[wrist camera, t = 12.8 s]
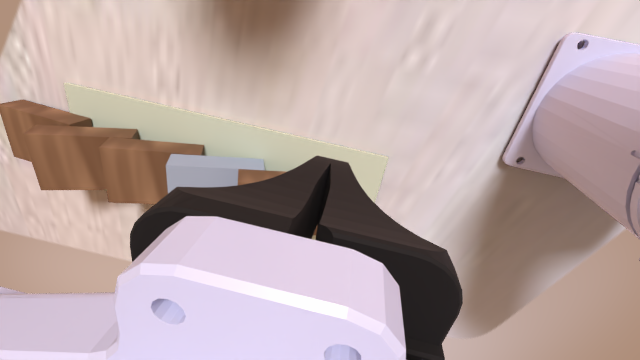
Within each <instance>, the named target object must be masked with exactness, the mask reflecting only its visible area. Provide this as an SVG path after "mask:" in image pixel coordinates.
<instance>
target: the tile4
mask: <svg viewBox="0 0 640 360" xmlns="http://www.w3.org/2000/svg"><path fill="white" fill-rule="evenodd" d="M23 136H24V139H25V142H26V145H27V148H28V151H29V154H30V158H31V161H32V164H33V167H34V170H35V173H36V176H37V179H38V182H39V185H40V188H41V190H106V184H105V178H104V173H103V167H102V162H101V156H100V150H99V147H100V146H101V145H102V144H103V143H104V142H105V141H106V140H107V139H108V138H109V137H113V138H126V139H138V140H139V137H138V130H137V129H124V128H101V127H78V126H55V125H35V126H34V127H32V128H31V129H29V130H28V131H26V132H25V133H24V134H23Z"/></svg>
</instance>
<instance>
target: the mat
mask: <svg viewBox="0 0 640 360" xmlns="http://www.w3.org/2000/svg"><path fill="white" fill-rule="evenodd" d="M64 87H65V92H66V97H67V101H68V106H69V111H70V113H73V114H77V115H80V116H84V117H88V118H91V122H92V127H101V128H124V129H137V130H138V137H139V140H150V141H162V142H175V143H187V144H199V145H204V156H219V157H237V158H255V159H263V161H264V168H265V170H267V171H286V172H288V171H290V170H292V169H294V168H296V167H298V166H300V165H302V164H303V163H305V162H307V161H308V160H310V159H312V158H313V157H315V156H322V157H326V158H331V159H335V160H340V161H344V162H348V163H349V165H350V166H351V169H352V171H353V173H354V175H355V177H356V179H357V181H358V182H359V184H360V186H361V187H362V189H363V190H364V191H365V193H366V194H367V195H368V197H369V198H370V199H371V200H372V201H373V202H374V203H375V200H376V197H377V194H378V191H379V187H380V184H381V181H382V178H383V174H384V171H385V168H386V165H387V162H388V157H387V156H383V155H379V154H374V153H370V152H366V151H361V150H357V149H353V148H348V147H344V146H340V145H335V144H331V143H327V142H322V141H318V140H314V139H309V138H305V137H301V136H296V135H292V134H288V133H283V132H279V131H275V130H270V129H266V128H262V127H257V126H253V125H249V124H244V123H240V122H236V121H231V120H227V119H223V118H218V117H214V116H210V115H205V114H201V113H197V112H192V111H188V110H184V109H179V108H175V107H171V106H166V105H162V104H158V103H153V102H149V101H145V100H140V99H136V98H132V97H127V96H123V95H119V94H114V93H110V92H106V91H101V90H97V89H93V88H88V87H84V86H80V85H75V84H71V83H64ZM106 191H107V190H106ZM312 240H316V235H313V237H312Z"/></svg>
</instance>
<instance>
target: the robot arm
mask: <svg viewBox="0 0 640 360" xmlns="http://www.w3.org/2000/svg"><path fill="white" fill-rule="evenodd" d="M581 40H584V46H583V47H582V48H580V49H578V48H577V45H578V43H579V42H580V41H581ZM519 157H523V159H522V160H521V161H520V162H516V160H517V159H518V158H519ZM503 161H504V162H505V163H506V164H507V165H509V166H513V167H517V168H522V169H526V170H531V171H535V172H539V173H544V174H548V175H553V176H557V177H562V178H565V179H566V180H568V181H569V182H570V183H571V184H573V185H574V186H575V187H576V188H577V189H579V190H580V191H581V192H582V193H584V194H585V195H586V196H587V197H588V198H590V199H591V200H592V201H593V202H595V203H596V204H597V205H598V206H600V207H601V208H602V209H603V210H604V211H606V212H607V213H608V214H609V215H611V216H612V217H613V218H614V219H615V220H617V221H618V222H619V223H620V224H622V225H623V226H624V227H625V228H626V229H628V230H629V231H630V232H631V233H633V234H634V235H635V236H636V237H637V238H639V239H640V45H639V44H633V43H628V42H623V41H618V40H613V39H608V38H603V37H597V36H592V35H587V34H582V33H569V34H566V35H565V36H564V37H563V38H562V39H561V41H560V43H559V45H558V47H557V49H556V51H555V53H554V55H553V57H552V59H551V61H550V63H549V65H548V67H547V69H546V71H545V73H544V75H543V77H542V79H541V81H540V83H539V85H538V87H537V89H536V91H535V93H534V95H533V97H532V99H531V101H530V103H529V105H528V107H527V109H526V111H525V113H524V115H523V117H522V119H521V121H520V123H519V125H518V127H517V129H516V131H515V133H514V135H513V137H512V139H511V141H510V143H509V145H508V147H507V149H506V151H505V153H504V155H503ZM317 224H318V225H317ZM316 227H317V233H316V240H312V237H313V234H314V232H315V229H316ZM130 249H131V256H132V263H131V264H130V265H129V266H128V267H127V268H126V269H125V270H124V271H123V272H122V273H121V274H120V275H119V276H118V279H117V284H116V289H115V292H112V293H48V294H47V293H45V294H28V293H24V292H20V291H16V290H12V289H9V288H5V287H1V286H0V360H445V358H444V353H443V349H442V342H443V341H444V339H445V337H446V335H447V334H448V332H449V330H450V328H451V327H452V325H453V323H454V321H455V320H456V318H457V316H458V314H459V312H460V309H461V306H462V289H461V286H460V283H459V280H458V277H457V274H456V271H455V268H454V266H453V263H452V261H451V259H450V257H449V255H448V252H447V250H445V249H443V248H441V247H439V246H437V245H435V244H433V243H431V242H429V241H427V240H425V239H423V238H421V237H419V236H417V235H415V234H414V233H412V232H410V231H409V230H407V229H406V228H404V227H403V226H401V225H400V224H398V223H397V222H395V221H394V220H393V219H392V218H390V217H389V216H388V215H387V214H385V213H384V212H383V211H382V210H381V209H380V208H379V207H378V206H377V205H376V204H375V203H374V202H373V201H372V200H371V199H370V198H369V197H368V195H367V194H366V193H365V191H364V190H363V189H362V187H361V186H360V184H359V182H358V181H357V179H356V177H355V175H354V173H353V171H352V169H351V166H350V165H349V163H348V162H344V161H340V160H335V159H331V158H326V157H322V156H315V157H313V158H312V159H310V160H308V161H307V162H305V163H303V164H302V165H300V166H298V167H296V168H294V169H292V170H290V171H288V172H285V173H283V174H281V175H279V176H276V177H273V178H270V179H266V180H263V181H259V182H254V183H248V184H243V185H237V186H227V187H176V188H175V189H173V190H172V191H171V192H170V193H168V194H167V195H166V196H165V197H163V198H162V199H161V200H160V201H159V202H157V203H156V204H155V205H154V206H152V207H151V208H150V209H149V210H148V211H146V212H145V213H144V214H143V215H142V216H141V217H140V218H139V219H138V220H137V221H136V222H135V224H134V226H133V228H132V231H131V233H130ZM639 261H640V259H639Z"/></svg>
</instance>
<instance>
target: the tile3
mask: <svg viewBox="0 0 640 360" xmlns="http://www.w3.org/2000/svg"><path fill="white" fill-rule="evenodd" d="M99 150H100V156H101V162H102V167H103V173H104V178H105V184H106V190H107V195H108V201H109V202H116V203H144V204H156V203H157V202H159V201H160V200H161V199H162V198H163V197H165V196H166V195H167V194H168V187H167V175H166V164H167V162H168V160H169V157H170V155H171V154H183V155H201V156H204V145H199V144H187V143H175V142H162V141H150V140H138V139H126V138H113V137H109V138H108V139H107V140H106V141H105V142H104V143H103V144H102V145H101V146H100V147H99Z"/></svg>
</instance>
